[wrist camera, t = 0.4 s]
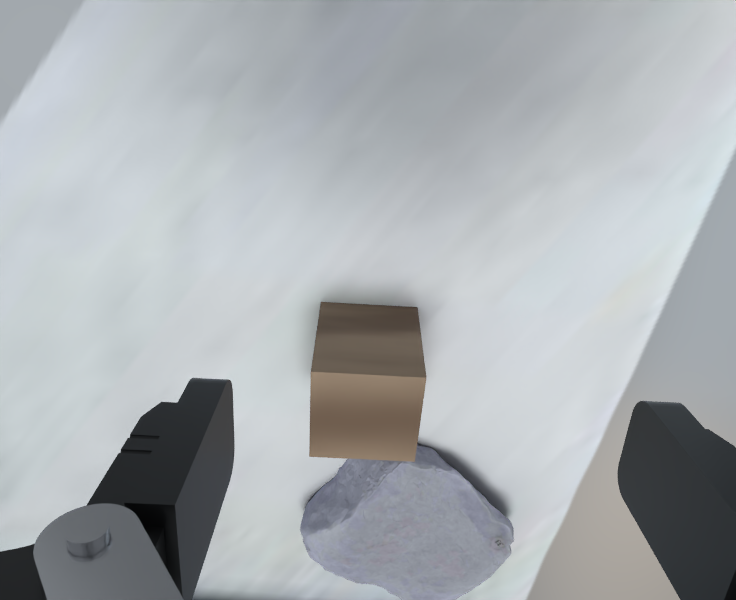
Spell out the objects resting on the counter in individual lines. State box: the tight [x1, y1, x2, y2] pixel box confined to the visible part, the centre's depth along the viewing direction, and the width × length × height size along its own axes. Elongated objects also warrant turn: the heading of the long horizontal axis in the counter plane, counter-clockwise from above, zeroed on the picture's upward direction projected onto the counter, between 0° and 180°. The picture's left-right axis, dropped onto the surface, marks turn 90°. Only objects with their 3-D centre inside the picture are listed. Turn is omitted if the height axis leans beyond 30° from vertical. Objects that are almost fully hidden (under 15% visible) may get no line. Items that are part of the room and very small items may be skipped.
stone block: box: [300, 444, 514, 600], centre depth 38 cm, size 12×5×10 cm
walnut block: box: [309, 302, 426, 462], centre depth 30 cm, size 5×5×6 cm
